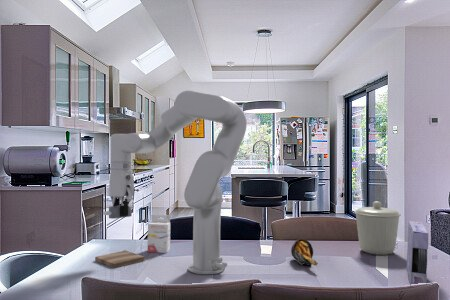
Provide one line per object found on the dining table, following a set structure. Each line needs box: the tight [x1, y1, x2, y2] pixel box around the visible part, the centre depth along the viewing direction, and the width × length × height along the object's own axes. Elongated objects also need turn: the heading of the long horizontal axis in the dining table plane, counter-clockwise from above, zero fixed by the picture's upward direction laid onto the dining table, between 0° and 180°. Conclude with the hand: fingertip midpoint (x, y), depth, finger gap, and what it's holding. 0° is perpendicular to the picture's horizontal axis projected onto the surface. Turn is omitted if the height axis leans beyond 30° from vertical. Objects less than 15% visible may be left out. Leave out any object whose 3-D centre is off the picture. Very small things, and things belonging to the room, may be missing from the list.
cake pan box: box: [406, 220, 429, 285], centre depth 126 cm, size 19×5×18 cm, turn 158°
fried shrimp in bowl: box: [290, 238, 319, 267], centre depth 143 cm, size 9×11×18 cm
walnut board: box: [94, 250, 146, 269], centre depth 146 cm, size 13×13×2 cm
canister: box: [354, 200, 402, 256], centre depth 161 cm, size 18×18×21 cm
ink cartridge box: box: [147, 214, 171, 254], centre depth 160 cm, size 9×5×15 cm, turn 84°
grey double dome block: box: [102, 204, 133, 219], centre depth 145 cm, size 4×11×4 cm, turn 137°
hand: (120, 214), depth 146 cm, fingers closed on grey double dome block, 4 cm apart
